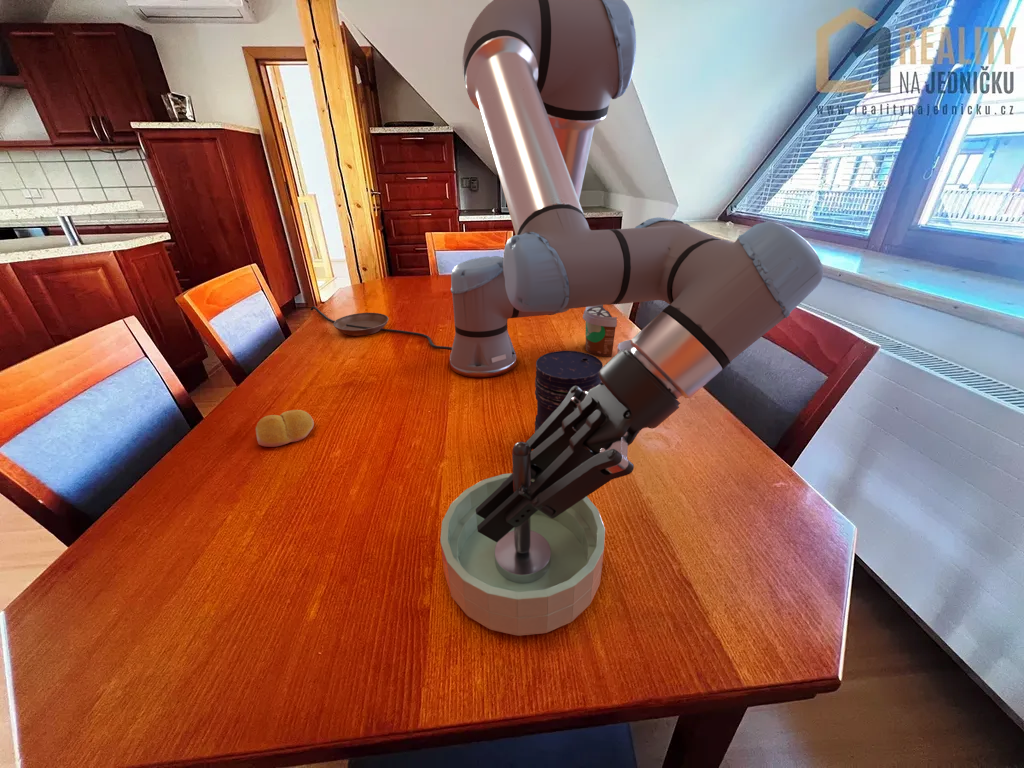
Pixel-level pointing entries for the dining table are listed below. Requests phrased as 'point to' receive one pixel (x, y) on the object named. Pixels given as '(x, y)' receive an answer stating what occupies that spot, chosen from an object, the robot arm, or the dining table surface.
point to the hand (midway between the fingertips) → (486, 525)
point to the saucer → (361, 323)
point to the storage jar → (562, 379)
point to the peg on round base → (522, 533)
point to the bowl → (522, 604)
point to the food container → (599, 330)
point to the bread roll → (283, 428)
